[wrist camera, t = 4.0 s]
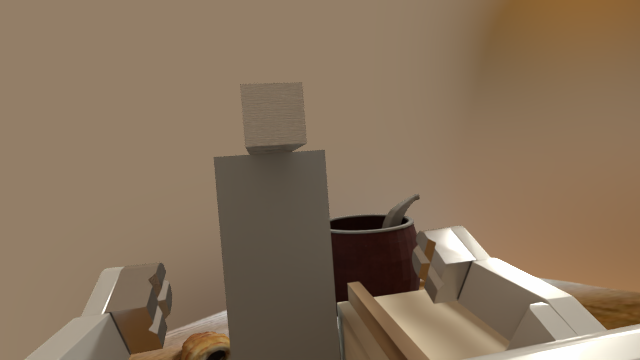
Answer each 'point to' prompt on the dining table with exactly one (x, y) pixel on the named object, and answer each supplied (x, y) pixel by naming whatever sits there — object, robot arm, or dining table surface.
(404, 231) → the mate gourd
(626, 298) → the dining table surface
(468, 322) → the cradle block
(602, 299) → the dining table surface
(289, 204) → the grey tall block
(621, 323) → the dining table surface
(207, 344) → the pastry
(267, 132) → the bar
